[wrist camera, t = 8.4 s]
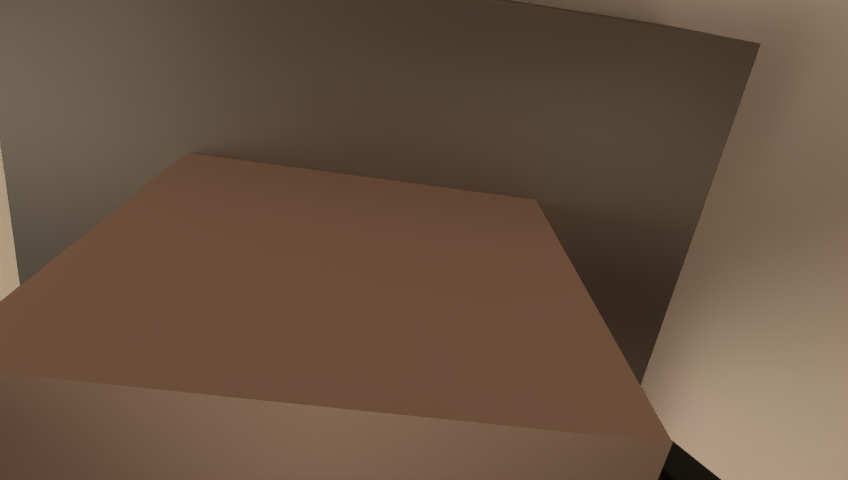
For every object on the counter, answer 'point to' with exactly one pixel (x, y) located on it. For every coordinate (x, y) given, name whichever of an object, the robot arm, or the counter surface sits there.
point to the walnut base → (381, 117)
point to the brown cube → (316, 340)
